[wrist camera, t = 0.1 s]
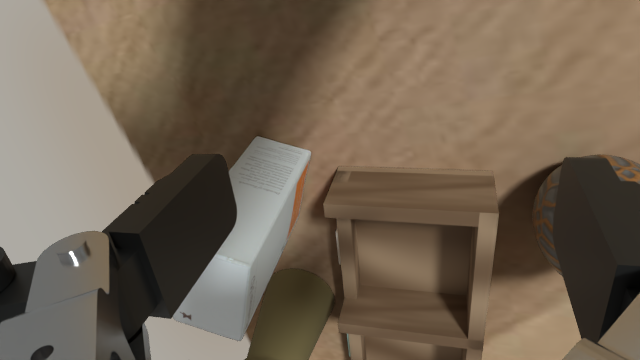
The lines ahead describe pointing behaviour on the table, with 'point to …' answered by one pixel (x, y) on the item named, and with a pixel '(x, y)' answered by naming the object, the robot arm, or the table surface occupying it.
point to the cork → (291, 316)
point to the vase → (547, 202)
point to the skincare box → (249, 238)
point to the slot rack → (414, 260)
